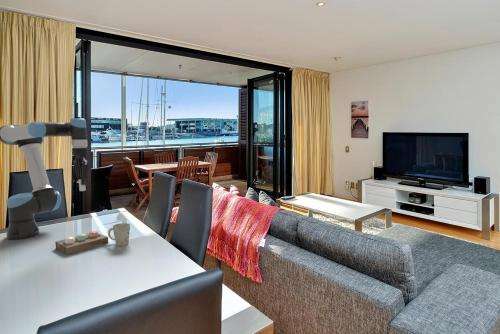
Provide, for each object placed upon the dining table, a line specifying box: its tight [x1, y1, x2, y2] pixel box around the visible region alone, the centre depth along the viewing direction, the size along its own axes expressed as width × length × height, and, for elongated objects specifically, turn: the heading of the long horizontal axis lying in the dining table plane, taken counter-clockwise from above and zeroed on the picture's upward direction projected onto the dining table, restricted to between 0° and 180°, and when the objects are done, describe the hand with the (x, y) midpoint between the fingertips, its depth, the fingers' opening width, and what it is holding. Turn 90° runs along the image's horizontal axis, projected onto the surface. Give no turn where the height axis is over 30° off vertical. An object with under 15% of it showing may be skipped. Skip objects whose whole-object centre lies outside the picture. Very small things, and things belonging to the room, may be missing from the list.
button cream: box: [64, 236, 76, 245], centre depth 160 cm, size 4×4×4 cm
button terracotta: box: [88, 230, 99, 238], centre depth 169 cm, size 4×4×4 cm
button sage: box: [76, 233, 88, 242], centre depth 164 cm, size 4×4×4 cm
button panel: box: [55, 232, 109, 256], centre depth 165 cm, size 14×20×4 cm
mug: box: [107, 222, 131, 247], centre depth 167 cm, size 8×13×10 cm, turn 78°
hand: (82, 190), depth 175 cm, fingers closed
